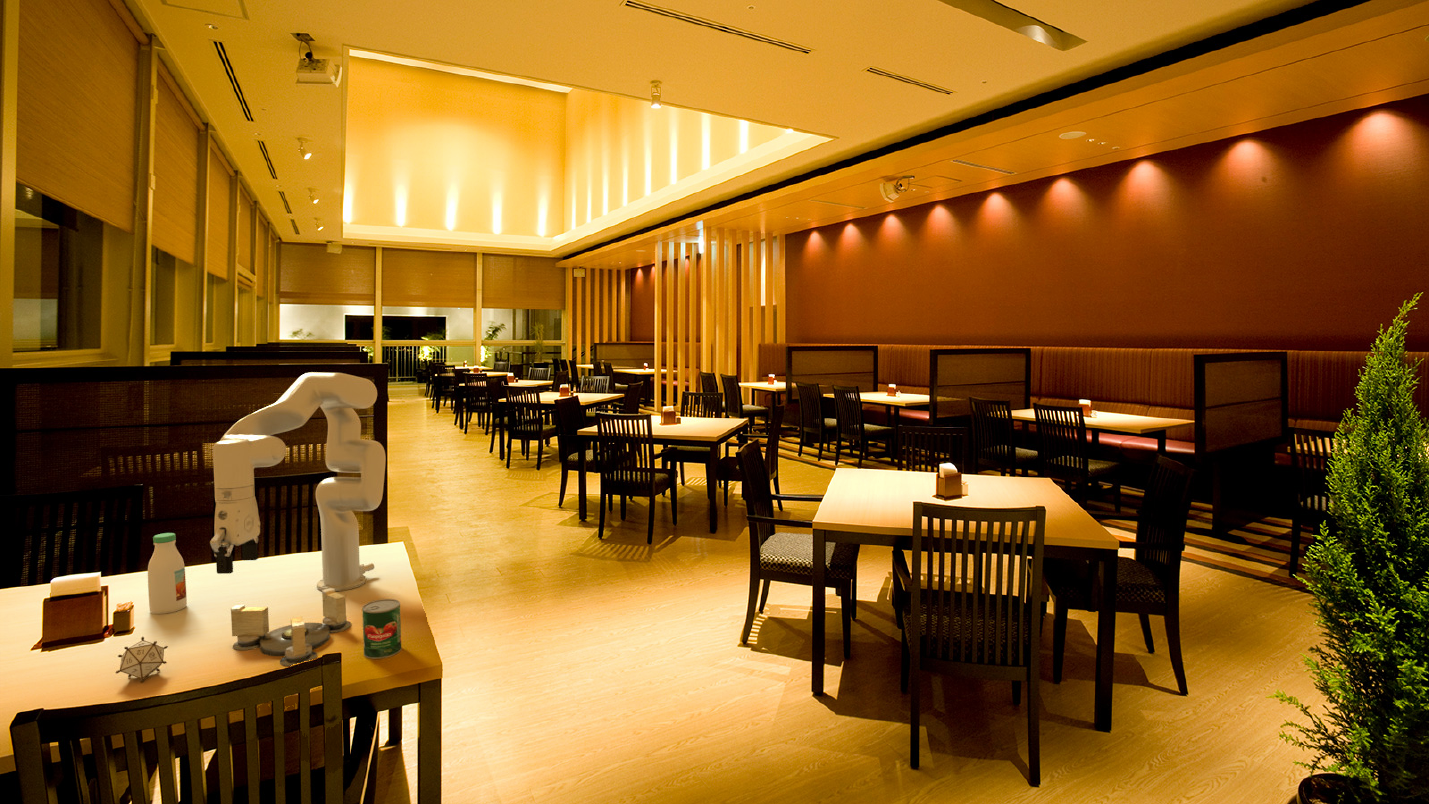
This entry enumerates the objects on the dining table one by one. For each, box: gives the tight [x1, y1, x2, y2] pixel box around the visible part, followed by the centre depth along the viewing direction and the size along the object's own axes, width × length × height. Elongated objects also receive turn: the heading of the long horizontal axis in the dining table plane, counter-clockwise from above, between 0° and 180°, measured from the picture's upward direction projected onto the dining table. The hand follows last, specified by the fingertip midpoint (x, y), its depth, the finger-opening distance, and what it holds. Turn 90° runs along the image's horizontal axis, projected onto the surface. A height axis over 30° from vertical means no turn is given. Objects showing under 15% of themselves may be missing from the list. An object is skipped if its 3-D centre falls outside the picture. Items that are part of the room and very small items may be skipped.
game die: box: [115, 636, 169, 683], centre depth 146 cm, size 9×8×10 cm
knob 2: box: [284, 616, 313, 662], centre depth 155 cm, size 7×5×8 cm
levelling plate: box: [232, 620, 352, 667], centre depth 166 cm, size 22×24×4 cm
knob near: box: [321, 588, 348, 629], centre depth 172 cm, size 7×5×8 cm
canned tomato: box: [361, 598, 403, 660], centre depth 159 cm, size 8×8×11 cm
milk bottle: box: [147, 532, 188, 615], centre depth 182 cm, size 8×8×20 cm
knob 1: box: [230, 604, 270, 646], centre depth 162 cm, size 7×5×8 cm
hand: (237, 566), depth 161 cm, fingers open, 9 cm apart
